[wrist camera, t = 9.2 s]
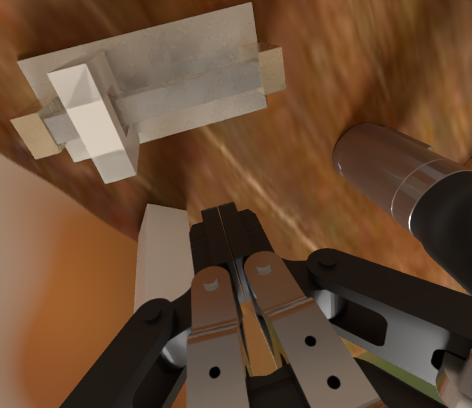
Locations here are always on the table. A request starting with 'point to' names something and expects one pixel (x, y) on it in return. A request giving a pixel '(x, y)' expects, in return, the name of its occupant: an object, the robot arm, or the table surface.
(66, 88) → the collar
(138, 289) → the milk
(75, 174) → the table surface
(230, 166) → the table surface
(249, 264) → the robot arm
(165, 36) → the rod and plate slider
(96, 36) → the table surface
